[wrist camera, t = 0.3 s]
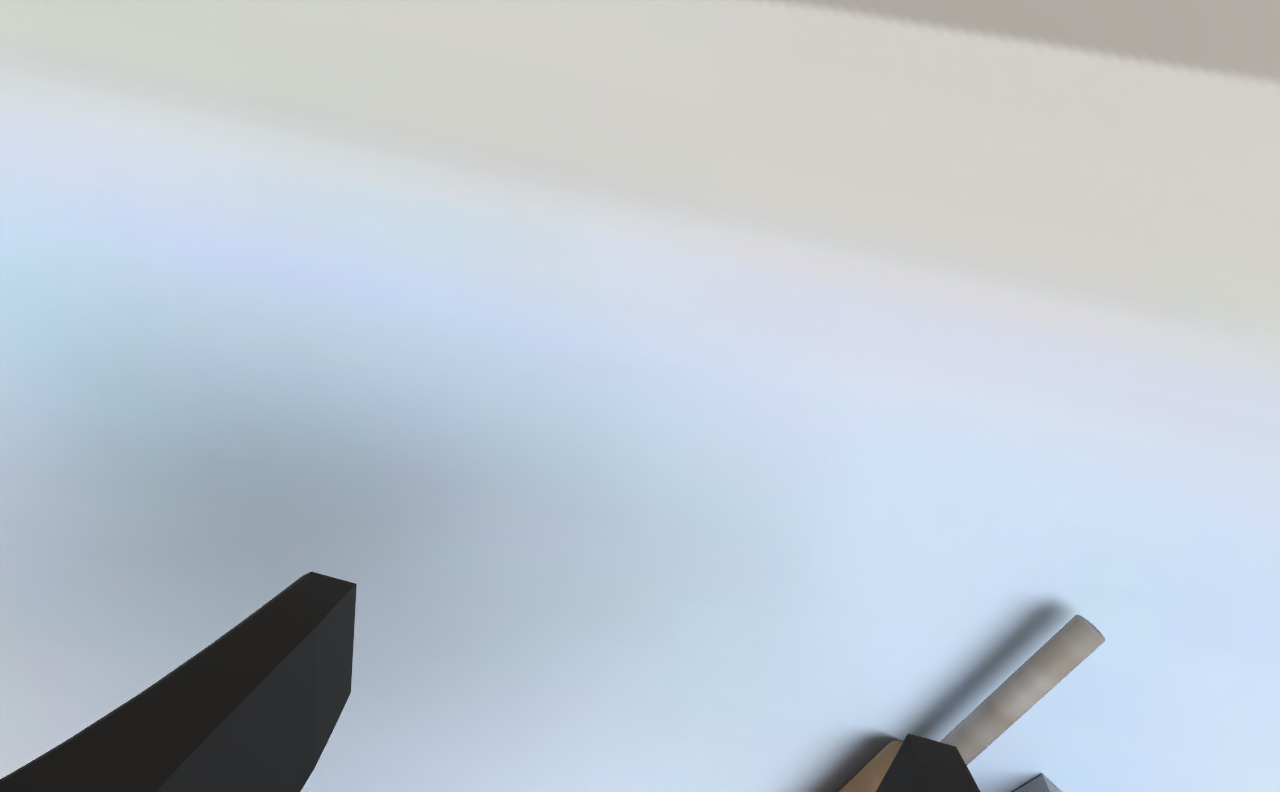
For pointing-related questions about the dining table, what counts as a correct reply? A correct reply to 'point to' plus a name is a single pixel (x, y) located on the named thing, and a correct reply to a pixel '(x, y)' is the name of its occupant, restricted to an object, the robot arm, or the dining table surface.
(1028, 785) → the tray
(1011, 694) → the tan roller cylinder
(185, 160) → the dining table surface
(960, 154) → the dining table surface
